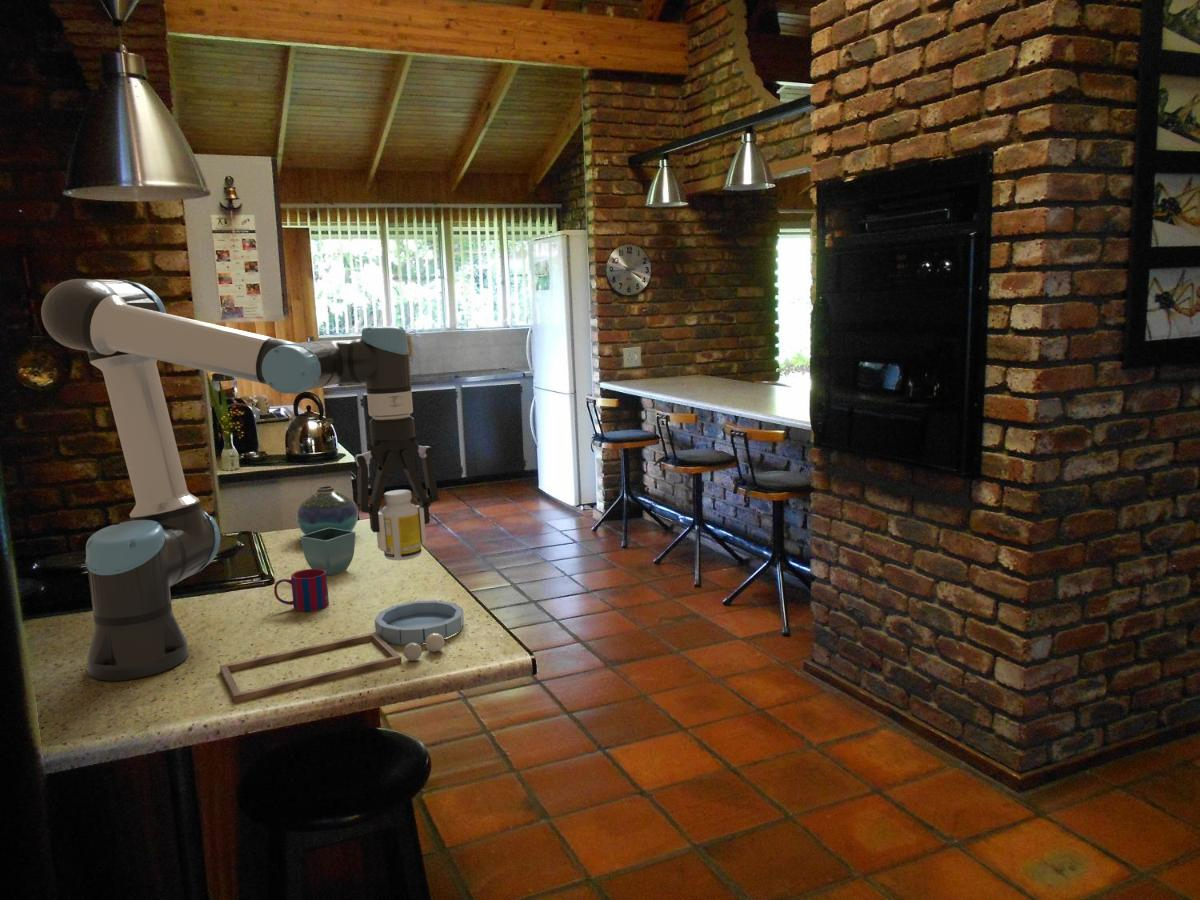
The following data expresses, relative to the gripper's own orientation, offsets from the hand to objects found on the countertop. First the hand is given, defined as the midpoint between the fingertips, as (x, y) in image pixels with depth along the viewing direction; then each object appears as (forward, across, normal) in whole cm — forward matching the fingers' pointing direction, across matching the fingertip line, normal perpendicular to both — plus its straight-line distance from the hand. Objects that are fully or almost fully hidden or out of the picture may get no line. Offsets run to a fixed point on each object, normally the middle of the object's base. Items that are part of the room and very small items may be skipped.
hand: (402, 545), depth 156 cm
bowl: (+17, +3, +2) cm, 17 cm away
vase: (+16, +4, +81) cm, 83 cm away
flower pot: (+16, -3, +49) cm, 51 cm away
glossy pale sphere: (+17, -3, -11) cm, 20 cm away
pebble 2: (+17, +1, -10) cm, 20 cm away
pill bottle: (+2, 0, 0) cm, 2 cm away
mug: (+16, -13, +27) cm, 34 cm away
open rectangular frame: (+16, -18, -5) cm, 25 cm away
